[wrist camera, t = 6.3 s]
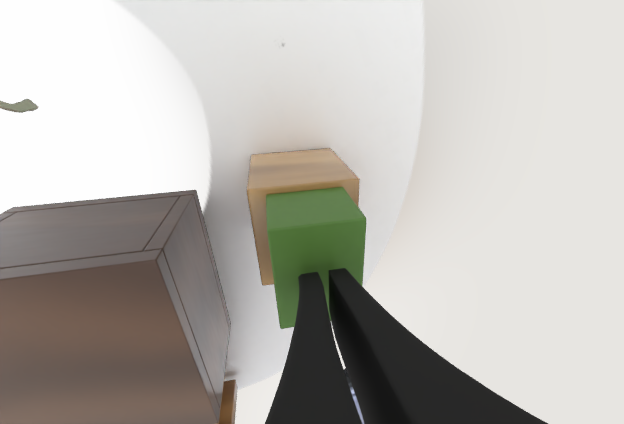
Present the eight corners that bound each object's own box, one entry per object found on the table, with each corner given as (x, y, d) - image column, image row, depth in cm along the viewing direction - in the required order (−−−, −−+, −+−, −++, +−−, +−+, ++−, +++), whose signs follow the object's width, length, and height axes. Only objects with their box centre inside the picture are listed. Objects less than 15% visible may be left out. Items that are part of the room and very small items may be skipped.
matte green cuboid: (341, 270, 15) (360, 316, 12) (276, 279, 14) (280, 329, 11) (343, 186, 12) (367, 218, 10) (265, 193, 12) (266, 230, 9)
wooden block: (331, 221, 20) (355, 272, 15) (262, 229, 20) (262, 286, 14) (330, 147, 18) (360, 178, 12) (250, 154, 17) (246, 189, 12)
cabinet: (230, 323, 23) (218, 423, 17) (98, 344, 22) (26, 463, 15) (196, 189, 17) (155, 259, 11) (12, 207, 16) (-166, 300, 9)
